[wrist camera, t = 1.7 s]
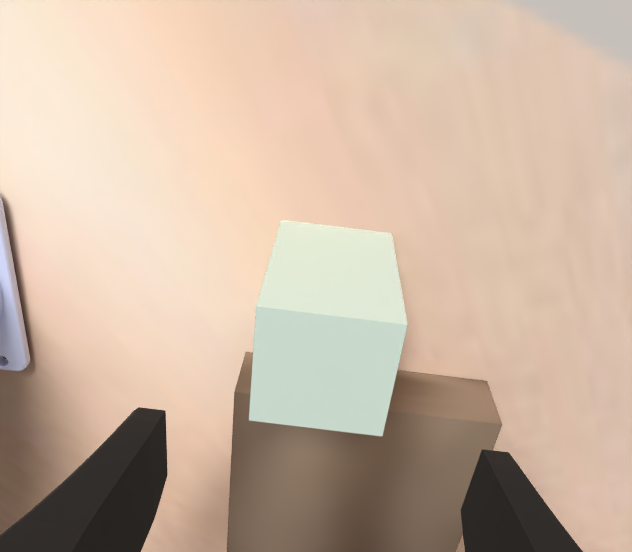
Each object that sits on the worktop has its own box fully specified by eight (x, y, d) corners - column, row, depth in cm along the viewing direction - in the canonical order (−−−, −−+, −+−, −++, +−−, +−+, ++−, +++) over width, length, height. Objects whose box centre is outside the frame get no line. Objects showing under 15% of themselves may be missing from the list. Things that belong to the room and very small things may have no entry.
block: (273, 312, 21) (248, 420, 16) (281, 219, 19) (256, 306, 14) (374, 325, 21) (382, 436, 16) (391, 232, 19) (407, 324, 14)
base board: (235, 539, 28) (225, 587, 26) (245, 351, 22) (234, 392, 20) (427, 562, 28) (433, 611, 26) (486, 381, 22) (502, 424, 20)
